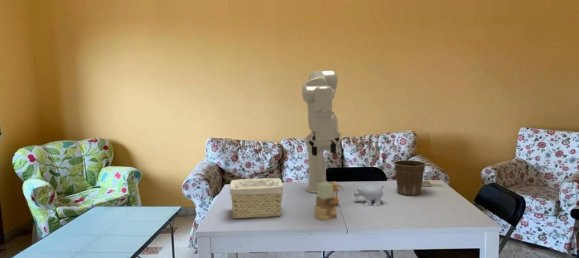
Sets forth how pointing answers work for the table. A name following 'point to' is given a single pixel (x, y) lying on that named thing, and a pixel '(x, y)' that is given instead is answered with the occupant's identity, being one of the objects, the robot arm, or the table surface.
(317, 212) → the oak block
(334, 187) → the figurine
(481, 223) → the table surface
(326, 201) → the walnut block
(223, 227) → the table surface
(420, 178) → the plant pot
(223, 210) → the table surface
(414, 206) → the table surface
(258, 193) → the storage basket
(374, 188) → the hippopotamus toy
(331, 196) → the sage block
